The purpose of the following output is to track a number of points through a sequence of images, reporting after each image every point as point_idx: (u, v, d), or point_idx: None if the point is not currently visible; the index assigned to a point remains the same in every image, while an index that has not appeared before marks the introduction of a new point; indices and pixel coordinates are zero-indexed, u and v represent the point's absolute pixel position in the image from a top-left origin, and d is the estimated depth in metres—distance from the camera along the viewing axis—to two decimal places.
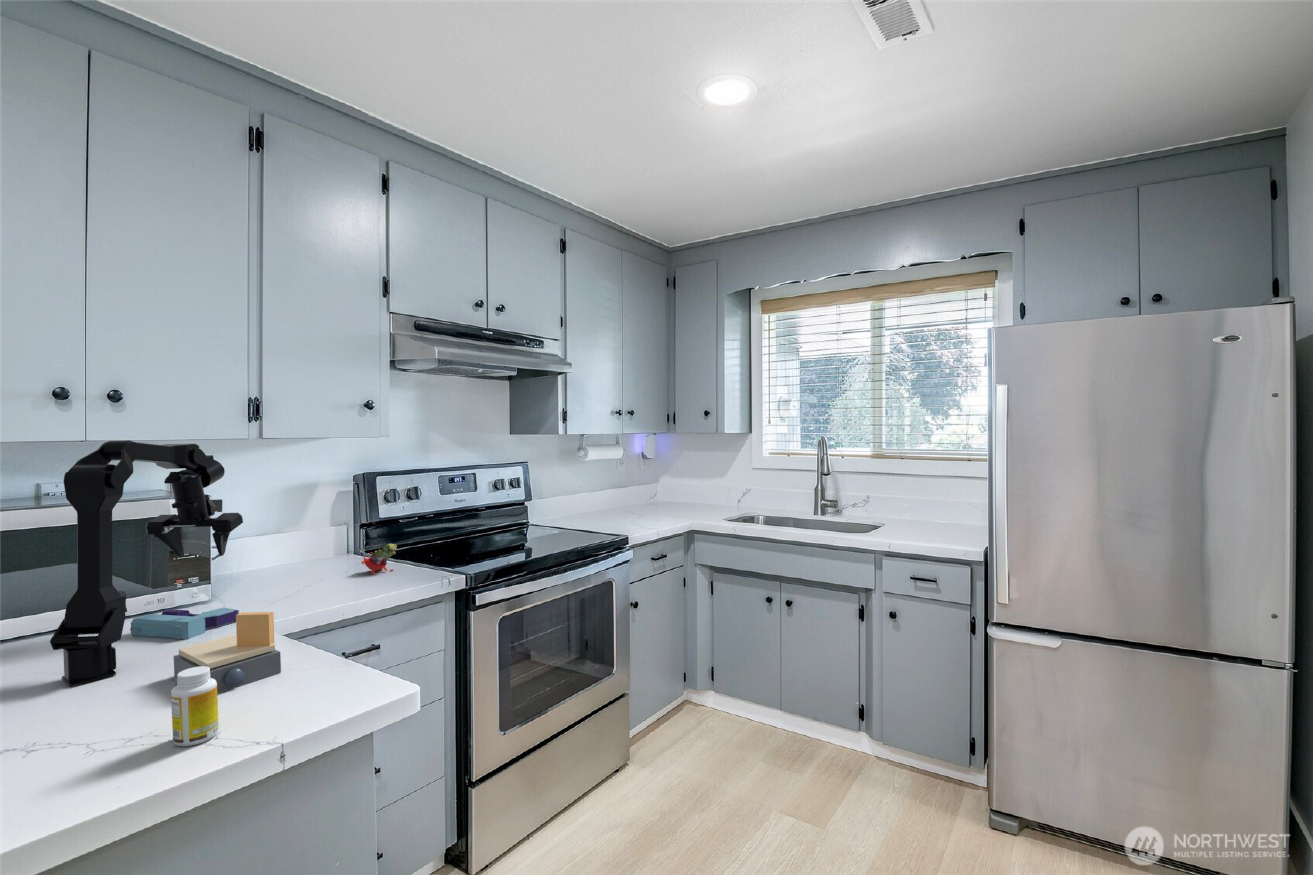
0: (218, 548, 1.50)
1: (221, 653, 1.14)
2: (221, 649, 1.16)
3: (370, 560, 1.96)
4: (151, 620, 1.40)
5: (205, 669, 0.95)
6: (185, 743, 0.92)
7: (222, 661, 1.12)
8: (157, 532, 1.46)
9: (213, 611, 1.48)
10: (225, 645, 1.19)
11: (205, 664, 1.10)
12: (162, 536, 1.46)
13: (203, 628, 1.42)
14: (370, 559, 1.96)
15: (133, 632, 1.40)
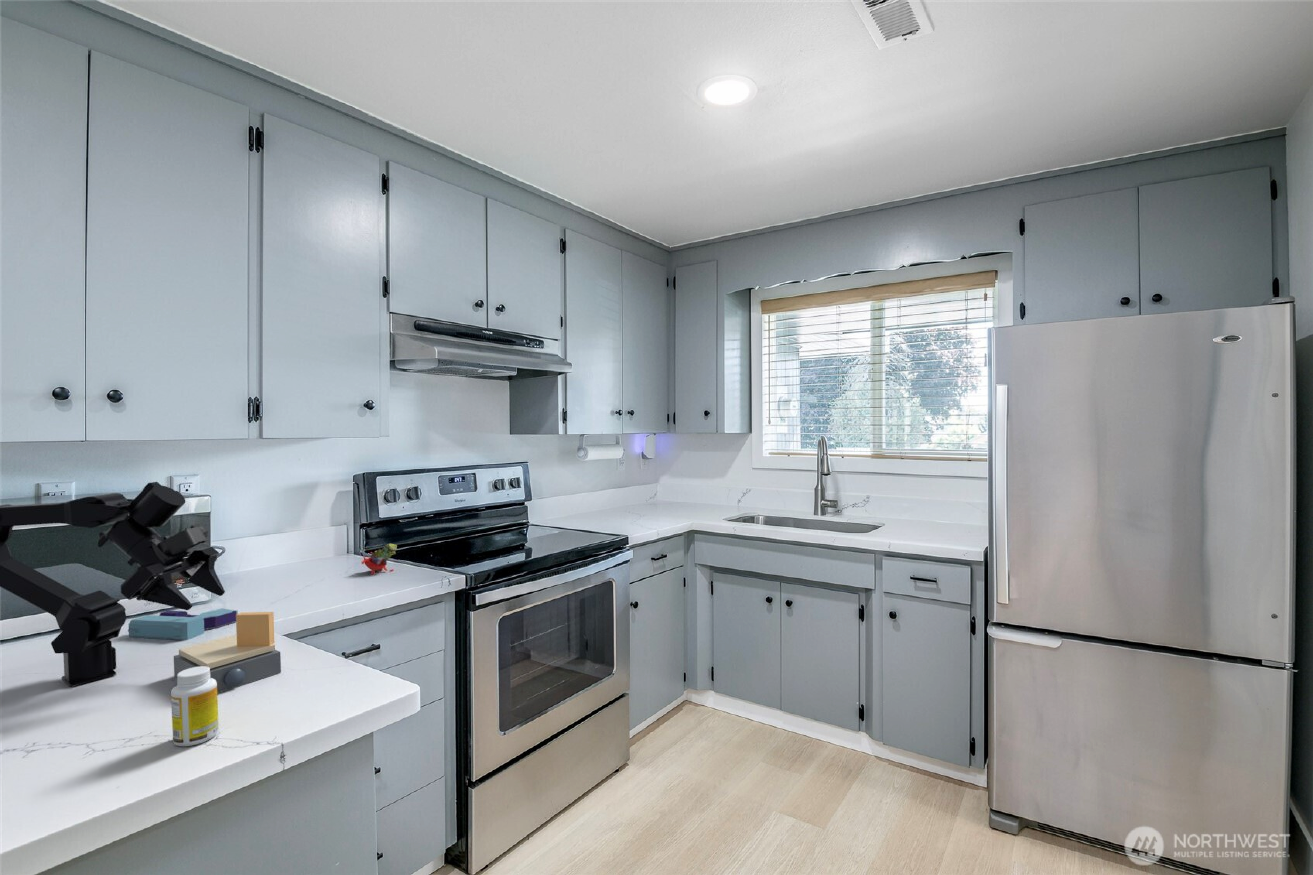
0: None
1: (221, 653, 1.14)
2: (221, 649, 1.16)
3: (370, 560, 1.96)
4: (149, 621, 1.40)
5: (205, 669, 0.95)
6: (185, 743, 0.92)
7: (222, 661, 1.12)
8: None
9: (211, 612, 1.48)
10: (225, 645, 1.19)
11: (205, 664, 1.10)
12: None
13: (202, 629, 1.41)
14: (370, 559, 1.96)
15: (131, 633, 1.40)
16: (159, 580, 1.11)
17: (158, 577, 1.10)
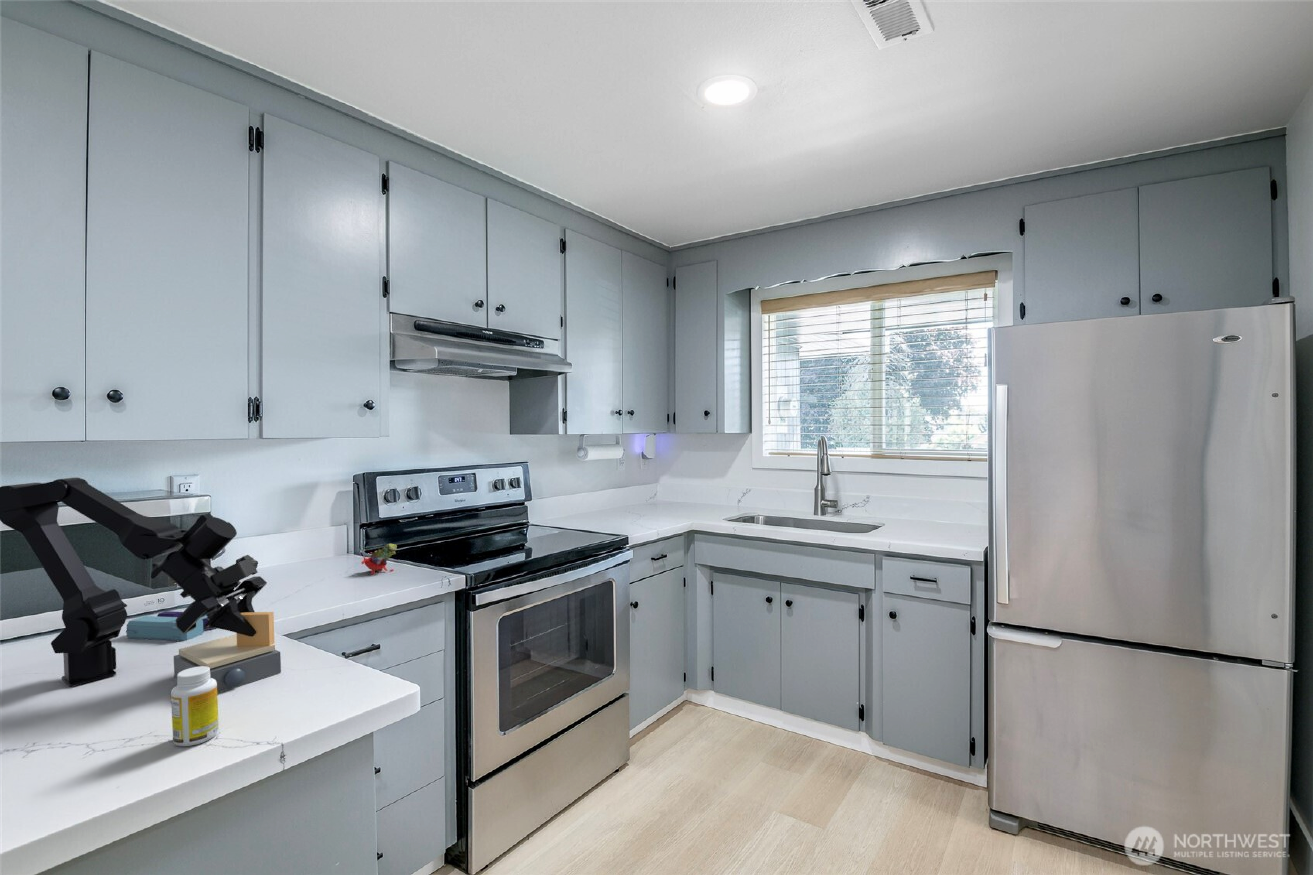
0: None
1: (221, 653, 1.14)
2: (221, 649, 1.16)
3: (370, 560, 1.96)
4: (148, 622, 1.39)
5: (205, 669, 0.95)
6: (185, 743, 0.92)
7: (222, 661, 1.12)
8: None
9: None
10: (225, 645, 1.19)
11: (205, 664, 1.10)
12: None
13: (201, 629, 1.41)
14: (370, 559, 1.96)
15: (129, 634, 1.39)
16: (226, 608, 1.15)
17: (226, 605, 1.14)
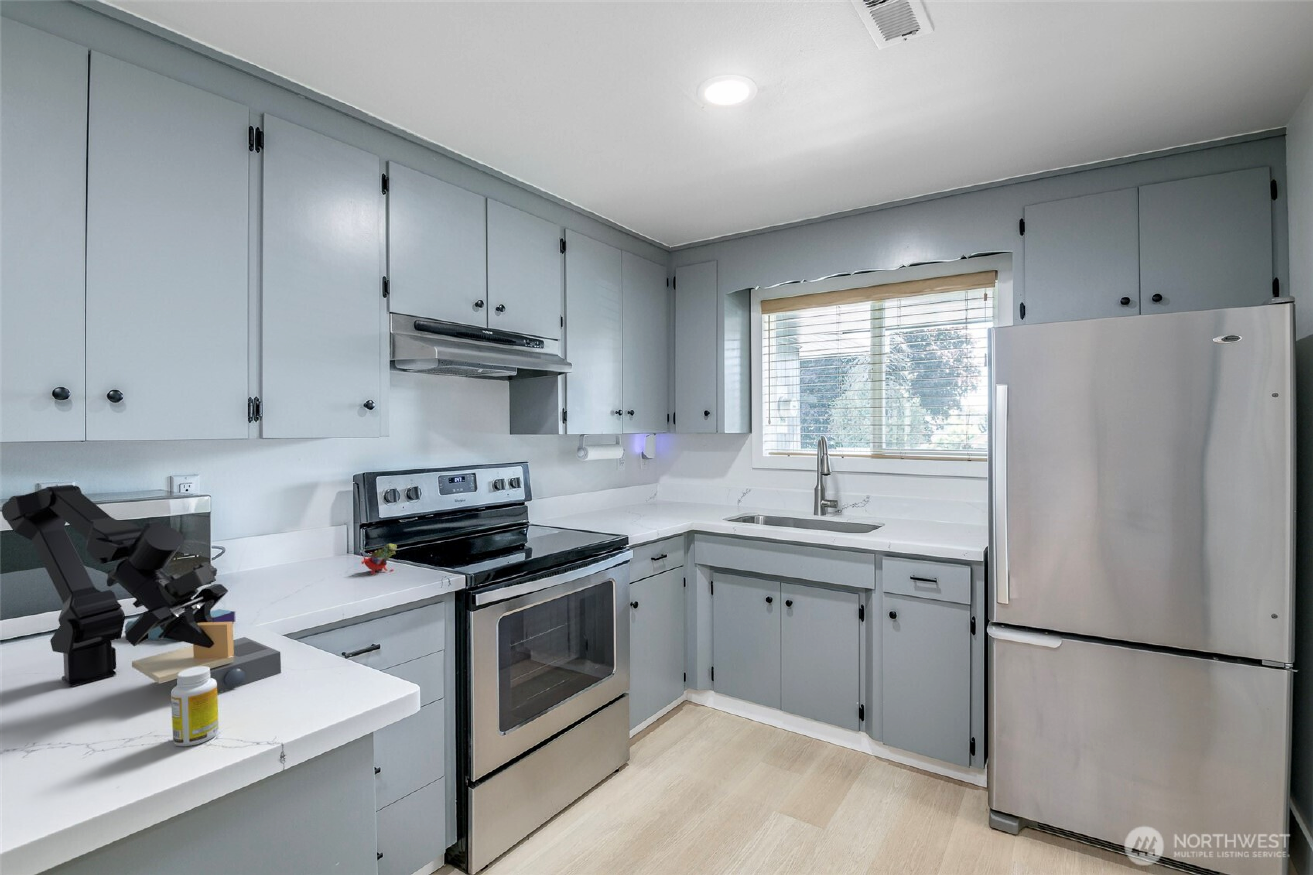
0: None
1: (176, 666, 1.09)
2: (176, 661, 1.11)
3: (370, 560, 1.96)
4: None
5: (205, 669, 0.95)
6: (185, 743, 0.92)
7: (175, 674, 1.06)
8: None
9: None
10: (182, 656, 1.13)
11: (156, 677, 1.05)
12: None
13: None
14: (370, 559, 1.96)
15: None
16: (181, 618, 1.09)
17: (180, 615, 1.08)
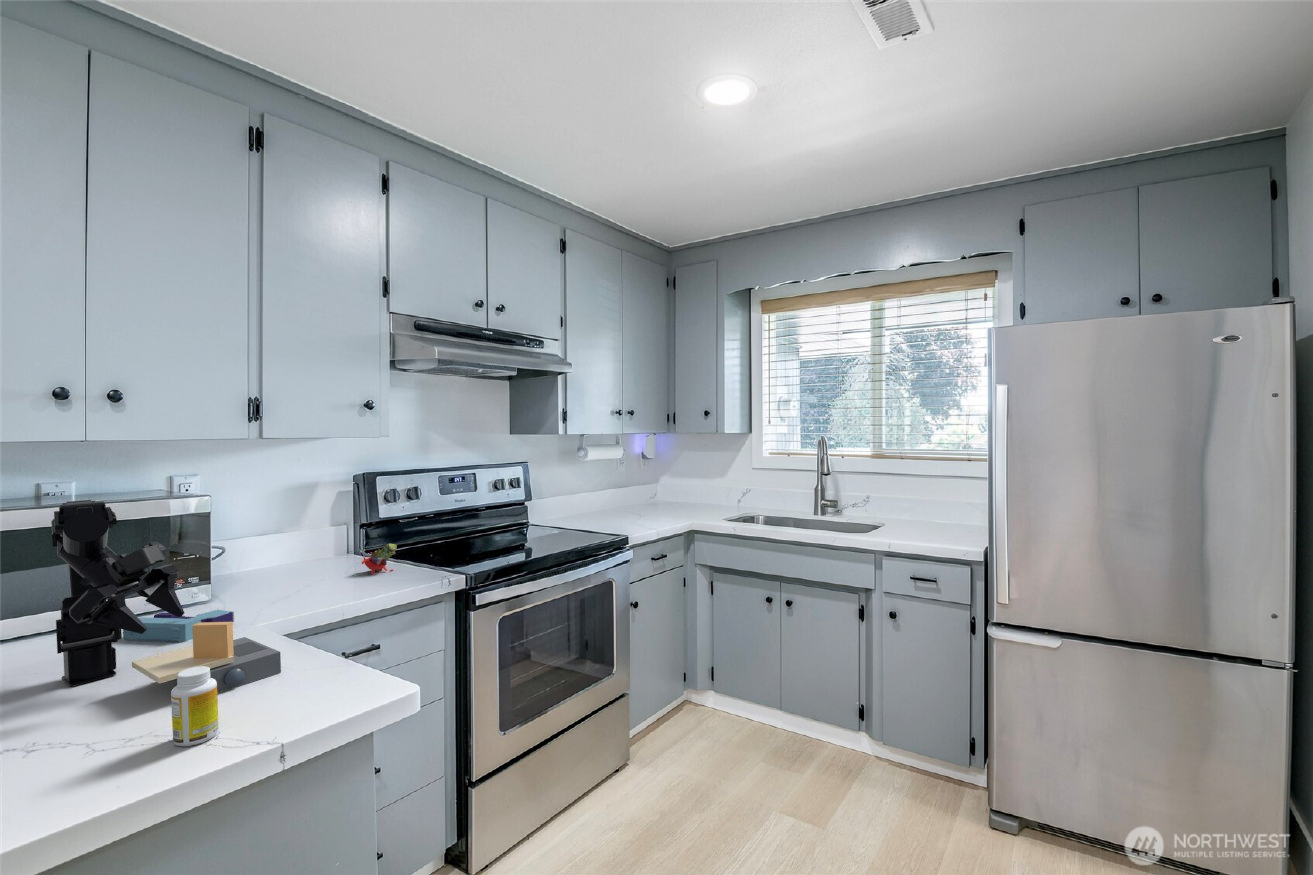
0: None
1: (176, 666, 1.09)
2: (176, 661, 1.11)
3: (370, 560, 1.96)
4: (145, 623, 1.38)
5: (205, 669, 0.95)
6: (185, 743, 0.92)
7: (175, 674, 1.06)
8: None
9: (207, 613, 1.46)
10: (182, 657, 1.13)
11: (156, 677, 1.05)
12: None
13: None
14: (370, 559, 1.96)
15: (126, 636, 1.38)
16: (111, 602, 1.05)
17: (110, 599, 1.04)
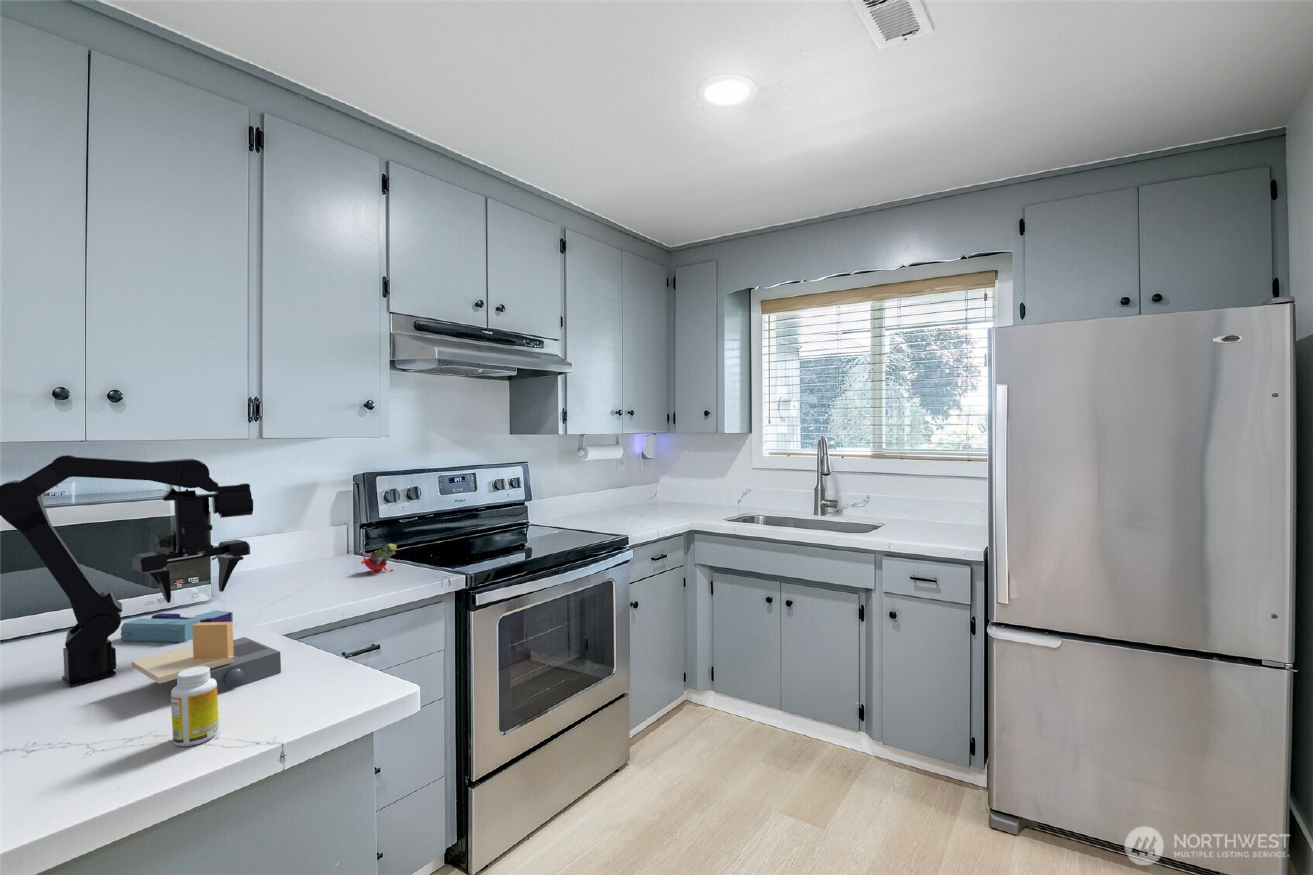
0: (225, 580, 1.31)
1: (176, 666, 1.09)
2: (176, 661, 1.11)
3: (370, 560, 1.96)
4: (143, 624, 1.37)
5: (205, 669, 0.95)
6: (185, 743, 0.92)
7: (175, 674, 1.06)
8: (160, 567, 1.21)
9: (206, 614, 1.46)
10: (182, 657, 1.13)
11: (156, 677, 1.05)
12: (164, 572, 1.22)
13: None
14: (370, 559, 1.96)
15: (124, 637, 1.37)
16: None
17: None
